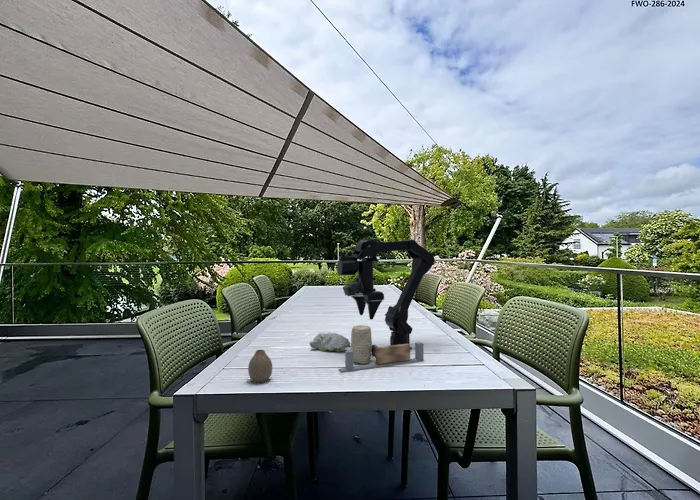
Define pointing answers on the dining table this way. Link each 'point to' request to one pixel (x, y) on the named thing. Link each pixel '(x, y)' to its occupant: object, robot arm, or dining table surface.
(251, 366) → the vase
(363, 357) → the carving
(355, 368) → the grey bracket bar
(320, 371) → the dining table surface
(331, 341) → the rock
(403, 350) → the brown boxy piece
